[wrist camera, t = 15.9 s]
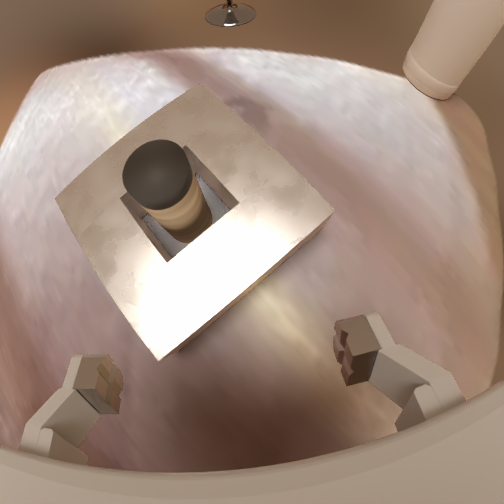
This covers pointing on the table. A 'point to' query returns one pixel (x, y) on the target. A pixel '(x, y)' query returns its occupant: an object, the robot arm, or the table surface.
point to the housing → (209, 242)
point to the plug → (167, 189)
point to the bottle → (451, 44)
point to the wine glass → (230, 14)
